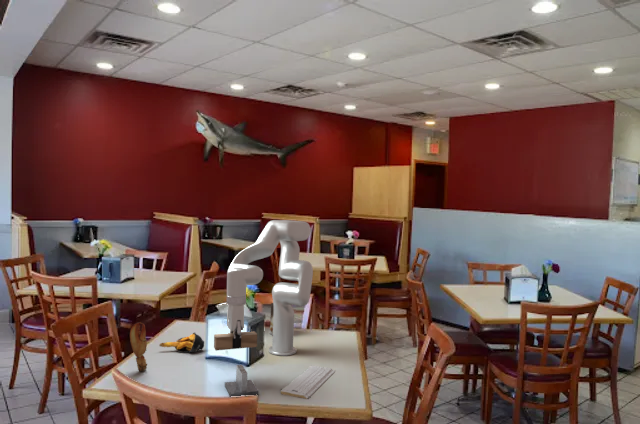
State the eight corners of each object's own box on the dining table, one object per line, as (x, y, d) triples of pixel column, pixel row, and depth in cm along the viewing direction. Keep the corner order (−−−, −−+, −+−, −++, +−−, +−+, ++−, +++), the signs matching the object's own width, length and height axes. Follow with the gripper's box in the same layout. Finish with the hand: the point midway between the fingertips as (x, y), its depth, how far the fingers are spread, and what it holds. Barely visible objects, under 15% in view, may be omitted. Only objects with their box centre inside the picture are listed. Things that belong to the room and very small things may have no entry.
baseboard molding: (338, 373, 208) (311, 368, 212) (338, 366, 208) (311, 362, 212) (311, 401, 179) (280, 395, 183) (311, 393, 179) (280, 387, 183)
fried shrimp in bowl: (207, 344, 223) (167, 334, 216) (197, 363, 226) (158, 354, 219) (206, 331, 231) (168, 321, 224) (197, 349, 234) (159, 340, 227)
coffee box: (268, 334, 258) (270, 303, 257) (275, 331, 264) (276, 301, 263) (284, 337, 254) (286, 305, 254) (290, 334, 260) (292, 303, 260)
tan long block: (214, 347, 196) (214, 334, 196) (254, 343, 202) (254, 331, 202) (215, 350, 192) (215, 337, 192) (256, 346, 198) (257, 334, 198)
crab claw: (127, 372, 197) (128, 322, 197) (134, 368, 202) (135, 318, 202) (144, 374, 196) (145, 323, 195) (150, 370, 201) (152, 320, 201)
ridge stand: (224, 386, 188) (225, 365, 187) (251, 383, 191) (251, 362, 191) (230, 398, 178) (231, 375, 177) (258, 395, 181) (259, 373, 181)
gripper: (222, 295, 202) (221, 340, 203) (231, 305, 187) (230, 354, 188) (241, 294, 205) (240, 339, 206) (251, 304, 190) (249, 352, 191)
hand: (235, 345), depth 197 cm, fingers closed on tan long block, 4 cm apart
